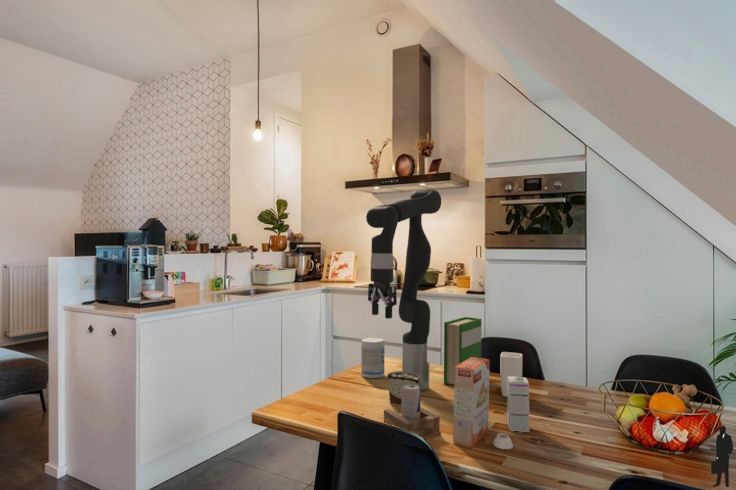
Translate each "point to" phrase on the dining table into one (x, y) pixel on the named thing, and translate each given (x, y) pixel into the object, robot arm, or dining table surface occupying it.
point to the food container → (400, 384)
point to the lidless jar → (503, 441)
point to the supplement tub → (372, 357)
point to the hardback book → (460, 344)
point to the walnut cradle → (415, 423)
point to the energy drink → (410, 401)
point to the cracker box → (471, 401)
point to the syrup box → (518, 404)
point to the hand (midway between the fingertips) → (381, 316)
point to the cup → (509, 368)
